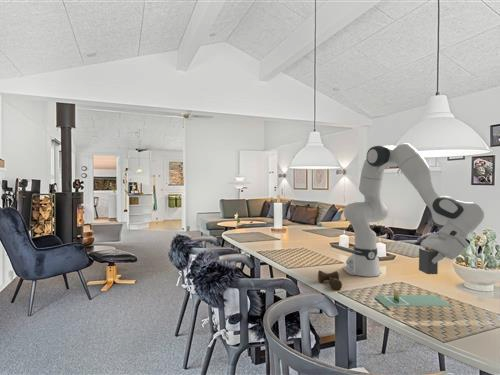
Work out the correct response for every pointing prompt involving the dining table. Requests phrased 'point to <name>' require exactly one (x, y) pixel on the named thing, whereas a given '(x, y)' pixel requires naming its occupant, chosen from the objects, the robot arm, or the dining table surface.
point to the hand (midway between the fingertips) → (426, 260)
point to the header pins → (396, 295)
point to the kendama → (330, 279)
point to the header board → (411, 300)
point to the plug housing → (427, 261)
